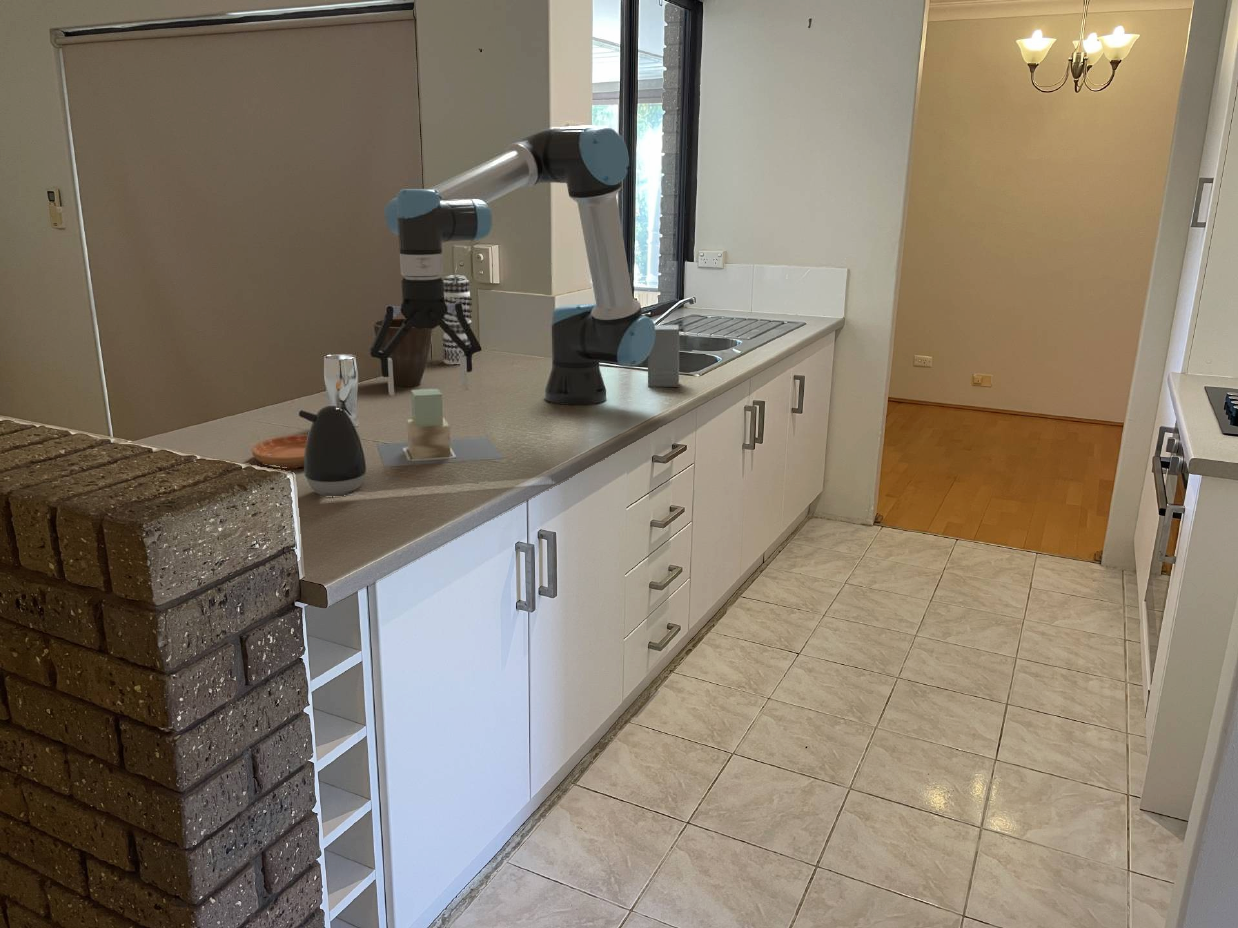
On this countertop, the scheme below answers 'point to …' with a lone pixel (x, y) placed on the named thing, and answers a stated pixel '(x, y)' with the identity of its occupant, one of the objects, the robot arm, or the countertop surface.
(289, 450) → the saucer
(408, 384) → the plant pot
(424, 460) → the board
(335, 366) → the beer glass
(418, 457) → the maple block
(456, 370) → the countertop surface
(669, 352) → the skincare box
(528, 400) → the countertop surface
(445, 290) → the decorative candle
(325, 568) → the countertop surface
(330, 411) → the pump dispenser
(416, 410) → the sage block
